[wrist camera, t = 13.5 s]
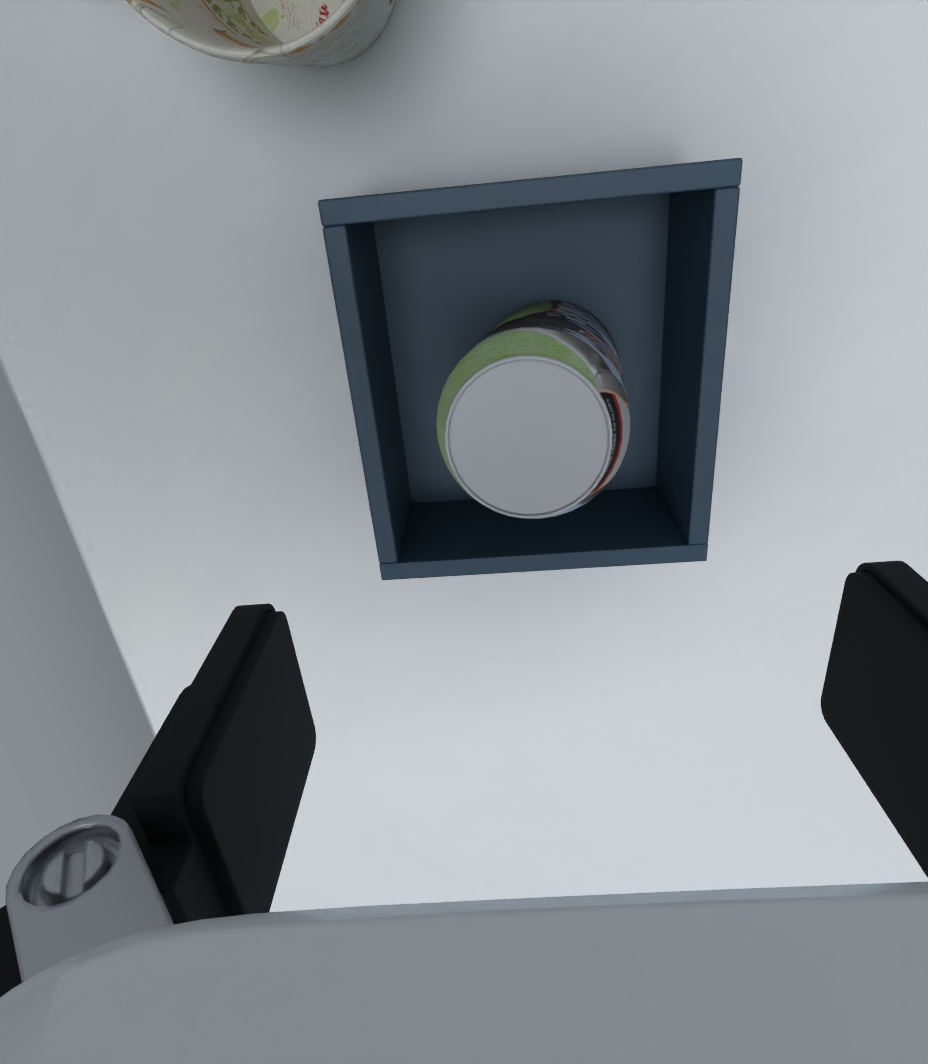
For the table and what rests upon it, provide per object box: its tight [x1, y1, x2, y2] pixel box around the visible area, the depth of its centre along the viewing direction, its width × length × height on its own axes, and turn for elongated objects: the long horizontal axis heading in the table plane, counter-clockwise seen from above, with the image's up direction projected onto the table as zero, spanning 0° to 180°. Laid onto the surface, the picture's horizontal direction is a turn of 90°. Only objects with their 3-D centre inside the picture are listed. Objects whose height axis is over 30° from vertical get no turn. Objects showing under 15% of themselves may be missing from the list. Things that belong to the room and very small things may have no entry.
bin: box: [318, 158, 742, 580], centre depth 28 cm, size 15×14×7 cm
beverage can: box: [436, 300, 630, 519], centre depth 25 cm, size 6×7×12 cm
